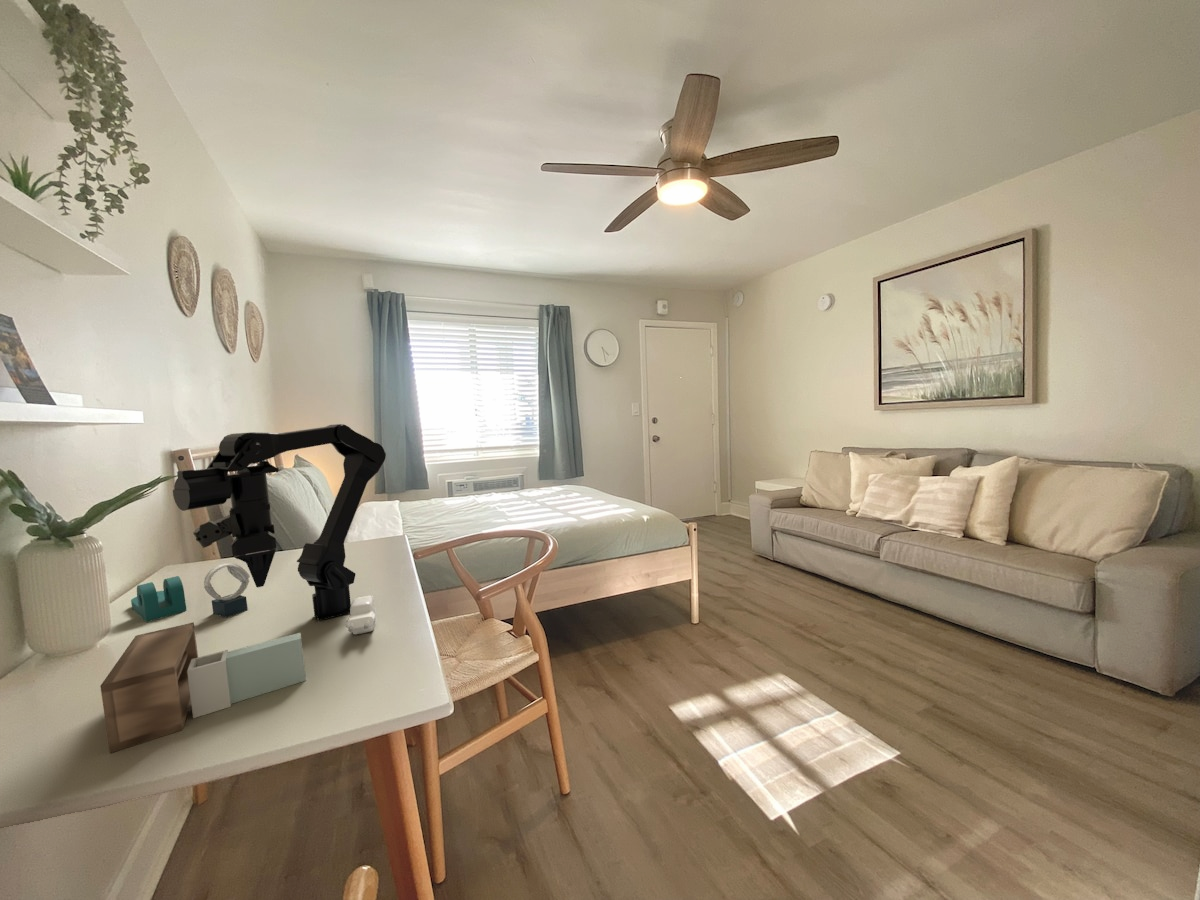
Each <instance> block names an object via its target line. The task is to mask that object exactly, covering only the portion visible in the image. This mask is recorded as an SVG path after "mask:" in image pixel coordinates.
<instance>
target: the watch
mask: <svg viewBox="0 0 1200 900" xmlns="http://www.w3.org/2000/svg"><path fill="white" fill-rule="evenodd" d="M223 568H227V571H228V572H229V574H230V575H231V576H232V577H234V578H235V579H236V580H238V581H239V582H240V583H241V584H240V586H239V588H238V589H237V590H236V591H235V592H234V593H231V594H228V595H225V596H221V595H220V594H219V593H217V591H216V590H215V589H214V587H213V586H212V583H211V581H212V577H214V575H215V574H216V573H217V572H218V571H220V570H222V569H223ZM249 578H250V574H249V572H248V571H247V570H246V569H245V568H243V566H241V565H239V564H238V563H235V562H231V563H221V564H218V565H216V566H214V567H213V568H211V569H210V570H209V571H208V572H207V574H206V575H205V577H204V581H203V585H204V586H203V588H204V590H205V592H206V593H207V594H208V595H209V596H210V597H211V598H213V599H212V600H211V606H212V614H213V615H215V616H219V617H222V618H224V619H225V618H228V617H231V616H235V615H238V614H240V613H242V612H247V611H248V610H249V609H248V601H247V596H245V595H242V594H243V593H245V591H246V589H247V588H248V585H249V584H250V580H249Z"/></svg>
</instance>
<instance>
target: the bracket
mask: <svg viewBox="0 0 1200 900" xmlns="http://www.w3.org/2000/svg"><path fill="white" fill-rule="evenodd" d="M162 584H163V585H162V587H163V590H158V591H157V589H156V586H155V584H154V583H153V582H152V581H151V582H148V583H147V582H146V583H143V584H139V585H137V587H136V596H135V597H133V598H132V599H131V600H130V604H131V609H132V610H133V611H134V612H135V613H136V615H138V616H139V617H140V618H141V619H143V620H144V622H145V623H149V622H152V621H156V620H159V619H162V618H163V619H164V618H166V617H170V616H173V615H174V616H175V615H177V614H180V613H184V612H187V611H188V610H187V605H186V597H185V595H186V594H185V589H184V585H183V582H182V579H181V578H180V576H178V575H177V576H172V577H169V578H164V579H163V583H162Z"/></svg>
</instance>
